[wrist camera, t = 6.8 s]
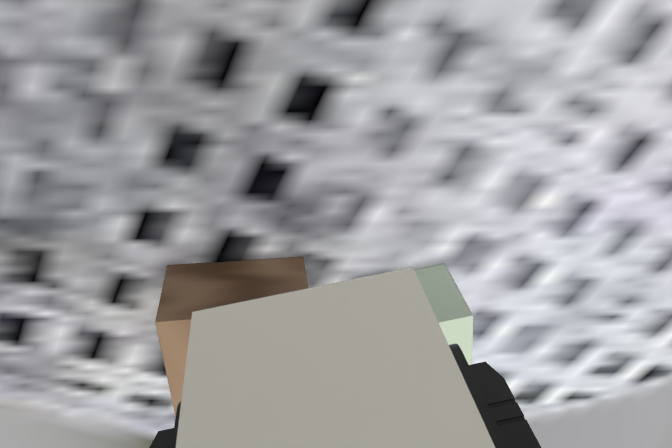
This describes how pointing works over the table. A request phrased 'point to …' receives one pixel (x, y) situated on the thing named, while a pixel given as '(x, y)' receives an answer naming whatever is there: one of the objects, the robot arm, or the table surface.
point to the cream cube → (327, 372)
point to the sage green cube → (448, 307)
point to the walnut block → (214, 300)
